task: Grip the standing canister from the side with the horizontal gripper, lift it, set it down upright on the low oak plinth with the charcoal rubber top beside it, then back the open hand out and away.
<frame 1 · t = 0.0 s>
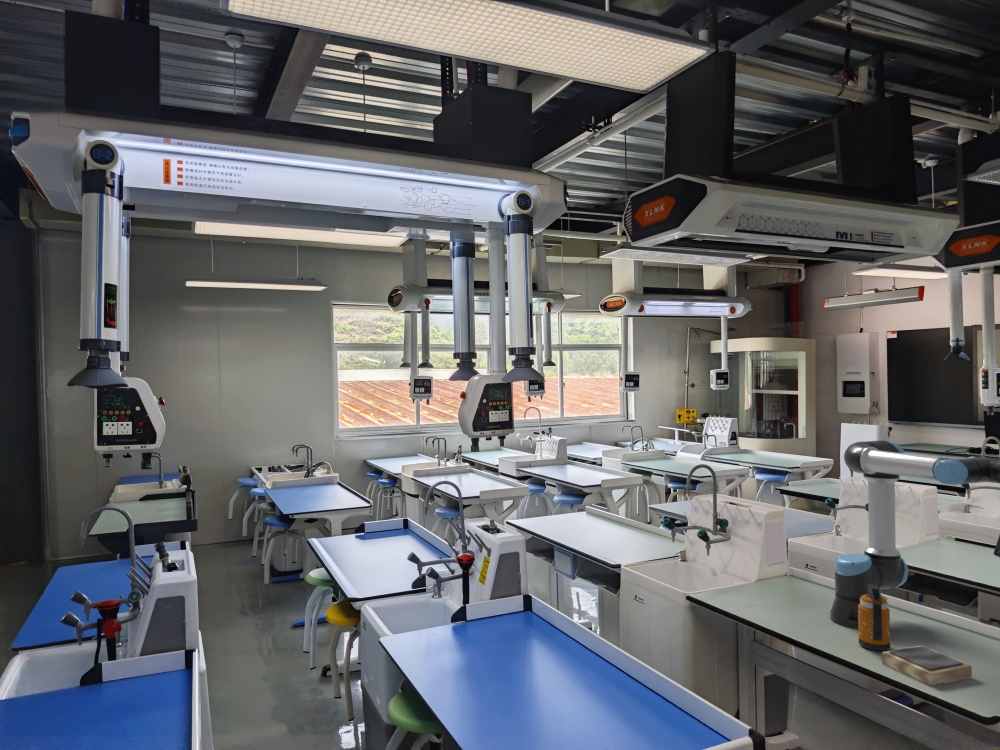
canister: (874, 648, 215), on the table
plinth: (925, 670, 198), on the table
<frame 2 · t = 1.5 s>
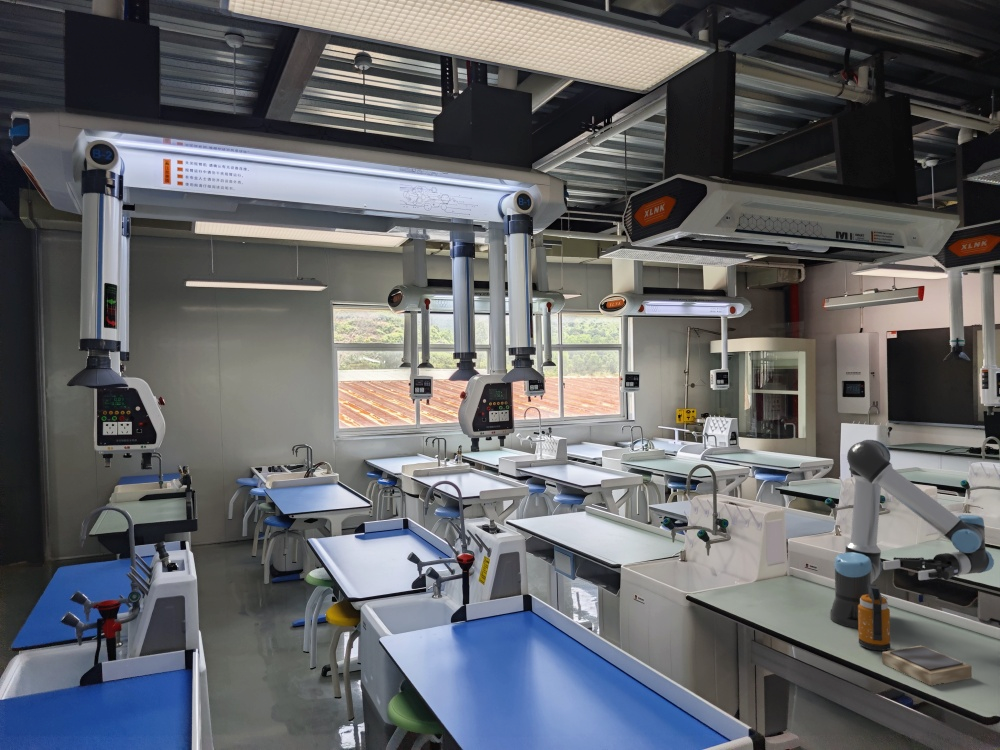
hand: (901, 570, 219), 24 cm above the table, tool horizontal, fingers open, 13 cm apart
nothing on the table moved.
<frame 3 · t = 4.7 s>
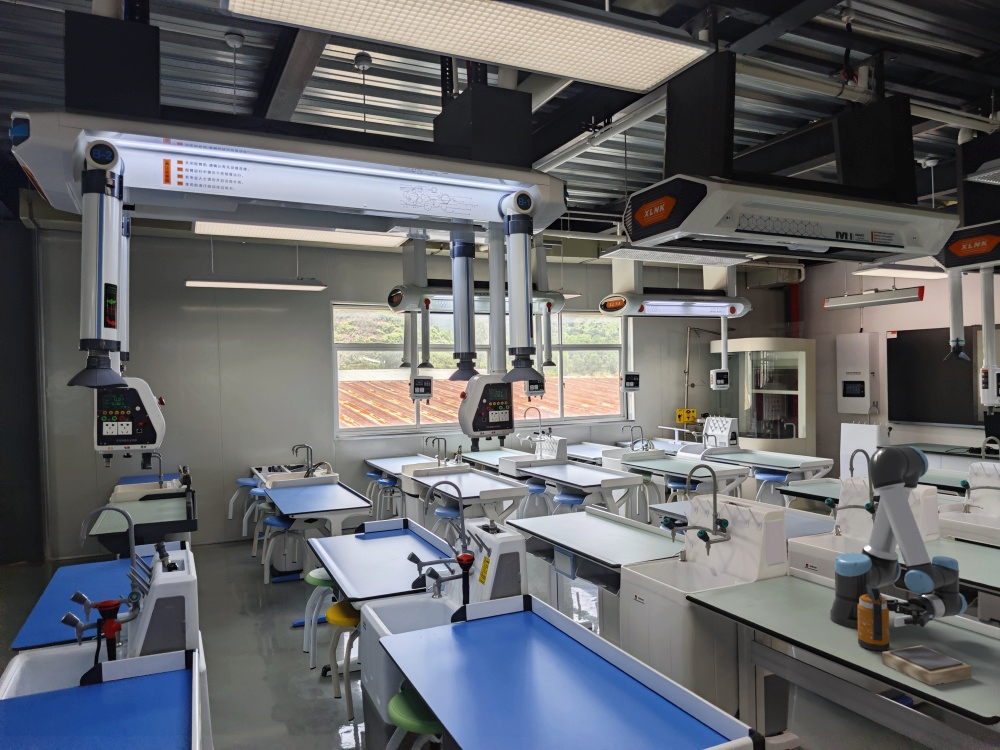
hand: (876, 615, 214), 11 cm above the table, tool horizontal, fingers open, 13 cm apart
nothing on the table moved.
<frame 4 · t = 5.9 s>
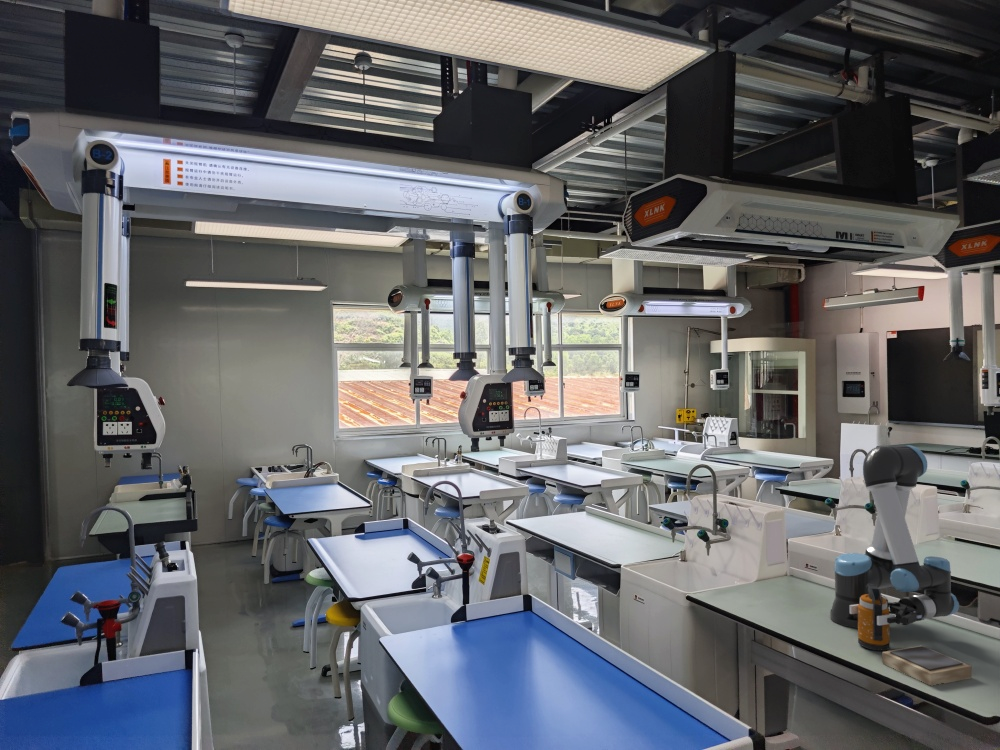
hand: (863, 615, 214), 11 cm above the table, tool horizontal, fingers closed on canister, 10 cm apart
canister: (874, 648, 215), on the table, touching gripper
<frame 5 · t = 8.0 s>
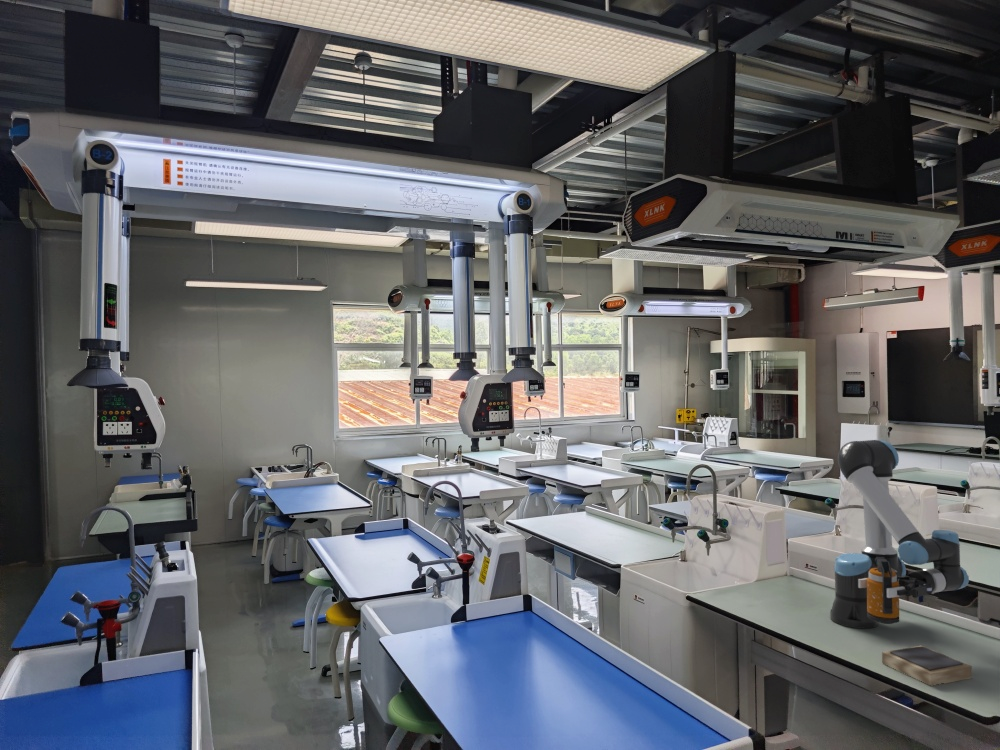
hand: (873, 588, 211), 21 cm above the table, tool horizontal, fingers closed on canister, 10 cm apart
canister: (884, 622, 212), point 10 cm above the table, touching gripper
when the fingers open (16 cm above the table, at t = 10.2 s): canister drops 2 cm, resting on plinth.
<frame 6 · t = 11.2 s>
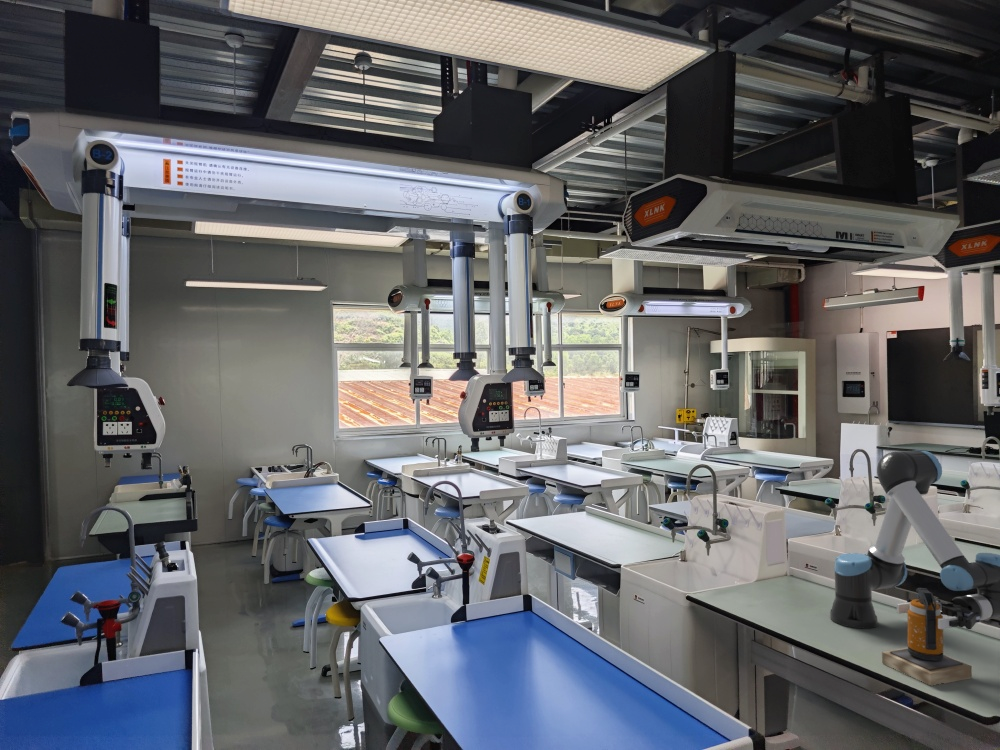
hand: (917, 616, 197), 17 cm above the table, tool horizontal, fingers open, 13 cm apart
canister: (926, 658, 198), point 4 cm above the table, touching plinth
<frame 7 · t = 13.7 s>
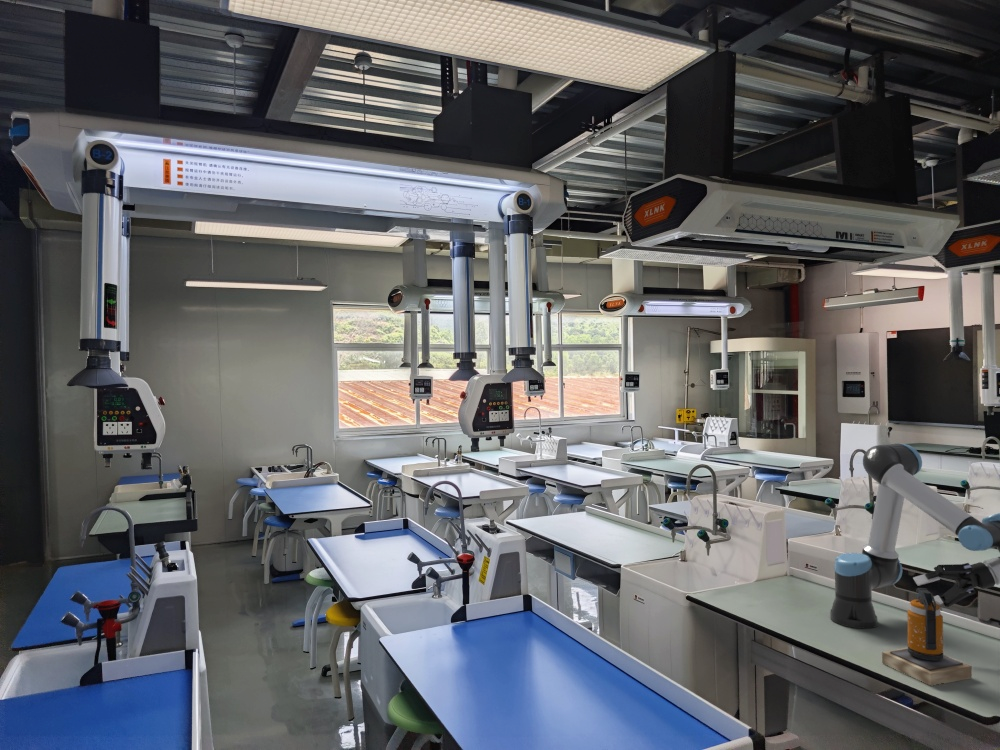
hand: (917, 593, 211), 19 cm above the table, tool tilted 70°, fingers open, 13 cm apart
nothing on the table moved.
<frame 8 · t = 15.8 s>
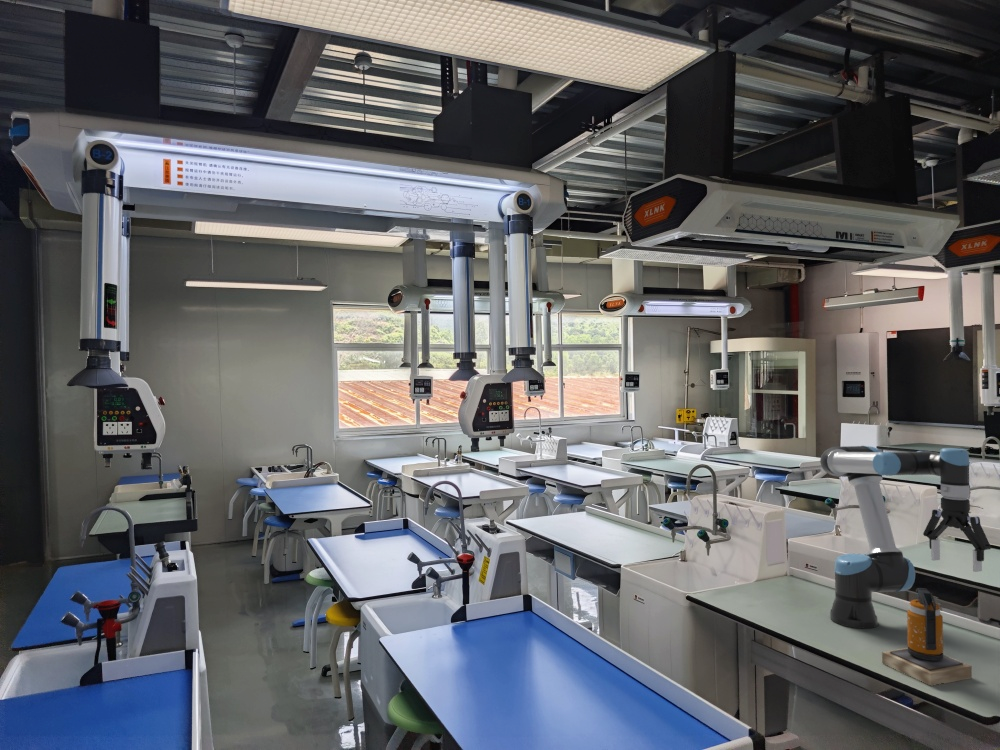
hand: (955, 565, 208), 29 cm above the table, tool pointing down, fingers open, 13 cm apart
nothing on the table moved.
at the end: canister inside the target area on the plinth (0.4 cm from its centre), point 3.8 cm above the plinth's base; canister tilted 0°; the gripper is holding nothing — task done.
